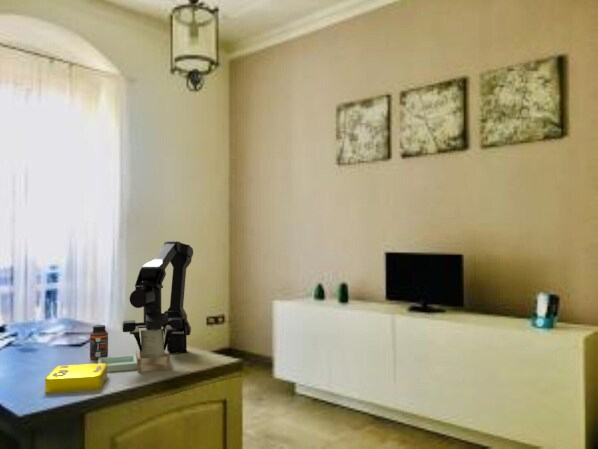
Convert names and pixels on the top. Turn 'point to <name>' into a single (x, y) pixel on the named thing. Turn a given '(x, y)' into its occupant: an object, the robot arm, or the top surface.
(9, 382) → the top surface
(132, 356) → the tray
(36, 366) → the top surface
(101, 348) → the supplement bottle
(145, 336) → the skincare box
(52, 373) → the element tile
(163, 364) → the frame
